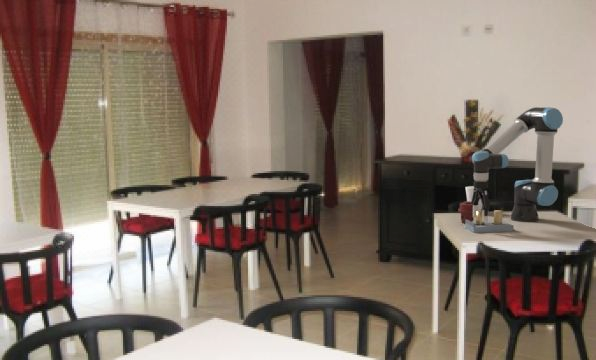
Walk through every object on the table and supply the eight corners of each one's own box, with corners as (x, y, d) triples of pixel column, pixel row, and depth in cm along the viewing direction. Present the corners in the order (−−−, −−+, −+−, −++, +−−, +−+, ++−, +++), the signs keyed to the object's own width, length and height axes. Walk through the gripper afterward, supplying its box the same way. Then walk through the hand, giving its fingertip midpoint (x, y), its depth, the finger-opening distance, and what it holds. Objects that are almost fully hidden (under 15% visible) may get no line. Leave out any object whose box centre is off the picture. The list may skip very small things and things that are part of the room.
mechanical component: (475, 221, 361) (476, 225, 351) (457, 221, 363) (458, 224, 353) (475, 200, 359) (477, 203, 349) (457, 200, 361) (458, 203, 351)
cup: (487, 214, 381) (487, 188, 379) (467, 214, 381) (468, 188, 379) (481, 211, 393) (482, 185, 391) (462, 211, 393) (463, 186, 391)
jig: (503, 226, 346) (504, 208, 344) (513, 230, 334) (513, 212, 332) (465, 228, 343) (465, 210, 342) (473, 232, 332) (473, 214, 330)
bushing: (474, 229, 340) (474, 211, 339) (482, 228, 341) (482, 210, 339) (477, 230, 336) (477, 212, 335) (485, 230, 336) (485, 212, 335)
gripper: (465, 177, 347) (465, 215, 349) (483, 183, 322) (482, 224, 325) (478, 177, 347) (478, 215, 350) (497, 183, 323) (496, 223, 325)
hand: (480, 219), depth 337 cm, fingers open, 13 cm apart
